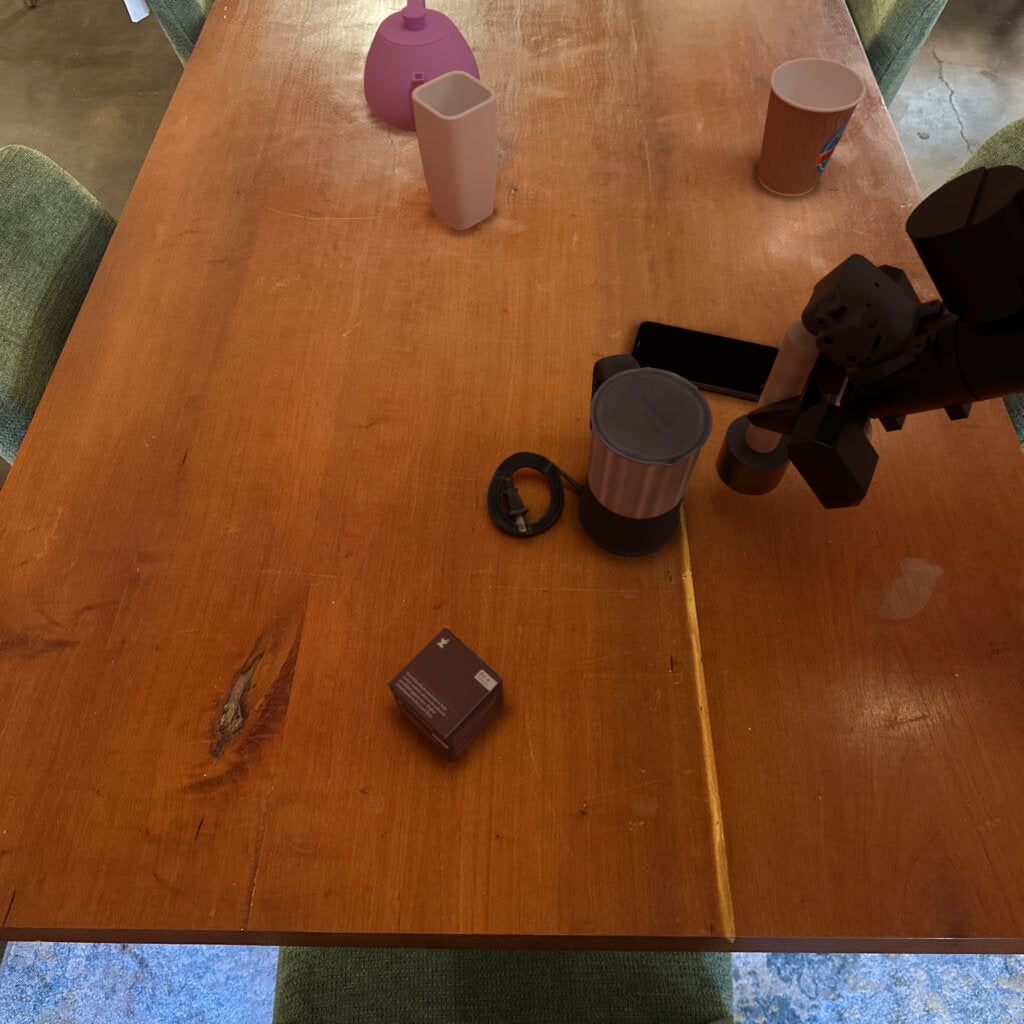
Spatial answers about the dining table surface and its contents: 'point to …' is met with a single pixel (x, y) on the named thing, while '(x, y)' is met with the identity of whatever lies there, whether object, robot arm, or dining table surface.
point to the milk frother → (621, 460)
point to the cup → (458, 146)
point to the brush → (757, 451)
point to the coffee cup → (805, 121)
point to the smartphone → (705, 358)
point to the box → (448, 694)
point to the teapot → (411, 60)
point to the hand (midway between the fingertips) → (756, 405)
